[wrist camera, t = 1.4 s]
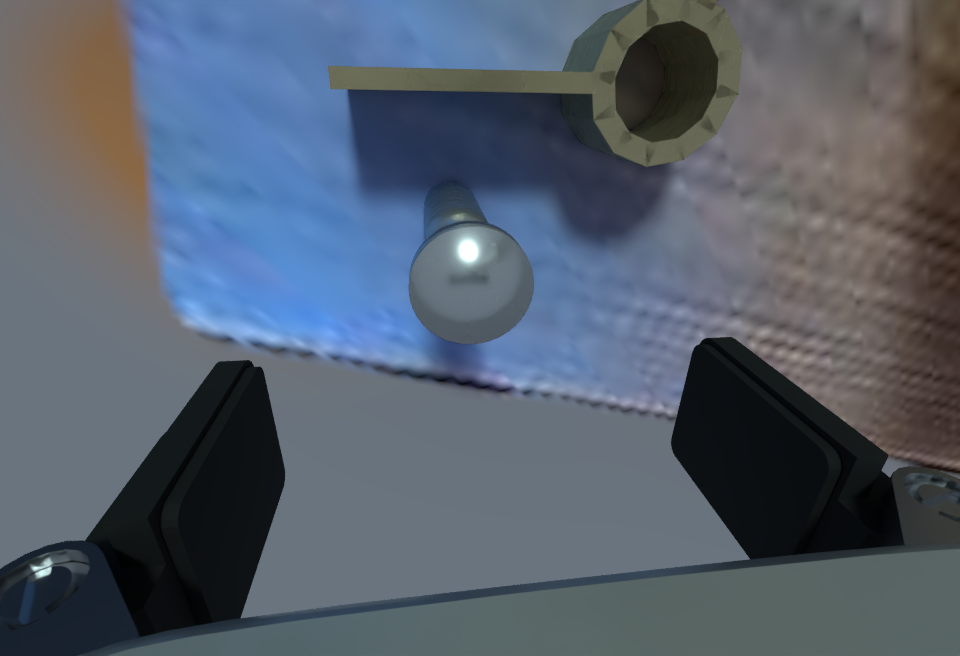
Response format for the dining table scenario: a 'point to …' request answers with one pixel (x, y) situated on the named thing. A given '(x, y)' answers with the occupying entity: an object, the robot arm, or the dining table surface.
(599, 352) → the dining table surface
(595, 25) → the brass hinge
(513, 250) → the hinge pin
